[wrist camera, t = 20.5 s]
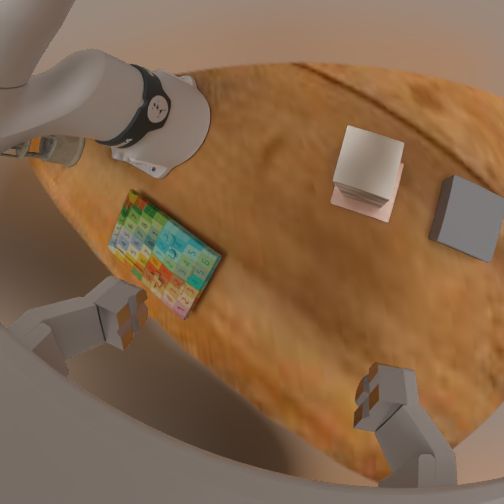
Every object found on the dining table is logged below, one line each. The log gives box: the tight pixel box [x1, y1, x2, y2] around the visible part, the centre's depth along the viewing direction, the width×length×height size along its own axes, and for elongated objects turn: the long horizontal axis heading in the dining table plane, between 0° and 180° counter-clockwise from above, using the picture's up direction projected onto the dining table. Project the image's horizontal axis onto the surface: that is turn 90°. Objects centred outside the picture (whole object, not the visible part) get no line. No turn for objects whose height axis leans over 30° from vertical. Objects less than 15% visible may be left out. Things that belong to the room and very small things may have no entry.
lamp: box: [0, 135, 85, 167], centre depth 42 cm, size 10×13×30 cm
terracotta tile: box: [330, 163, 404, 223], centre depth 35 cm, size 8×8×1 cm
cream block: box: [332, 125, 404, 208], centre depth 28 cm, size 5×5×14 cm
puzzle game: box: [108, 190, 222, 320], centre depth 45 cm, size 12×5×20 cm
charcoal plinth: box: [429, 175, 504, 263], centre depth 28 cm, size 8×8×5 cm
